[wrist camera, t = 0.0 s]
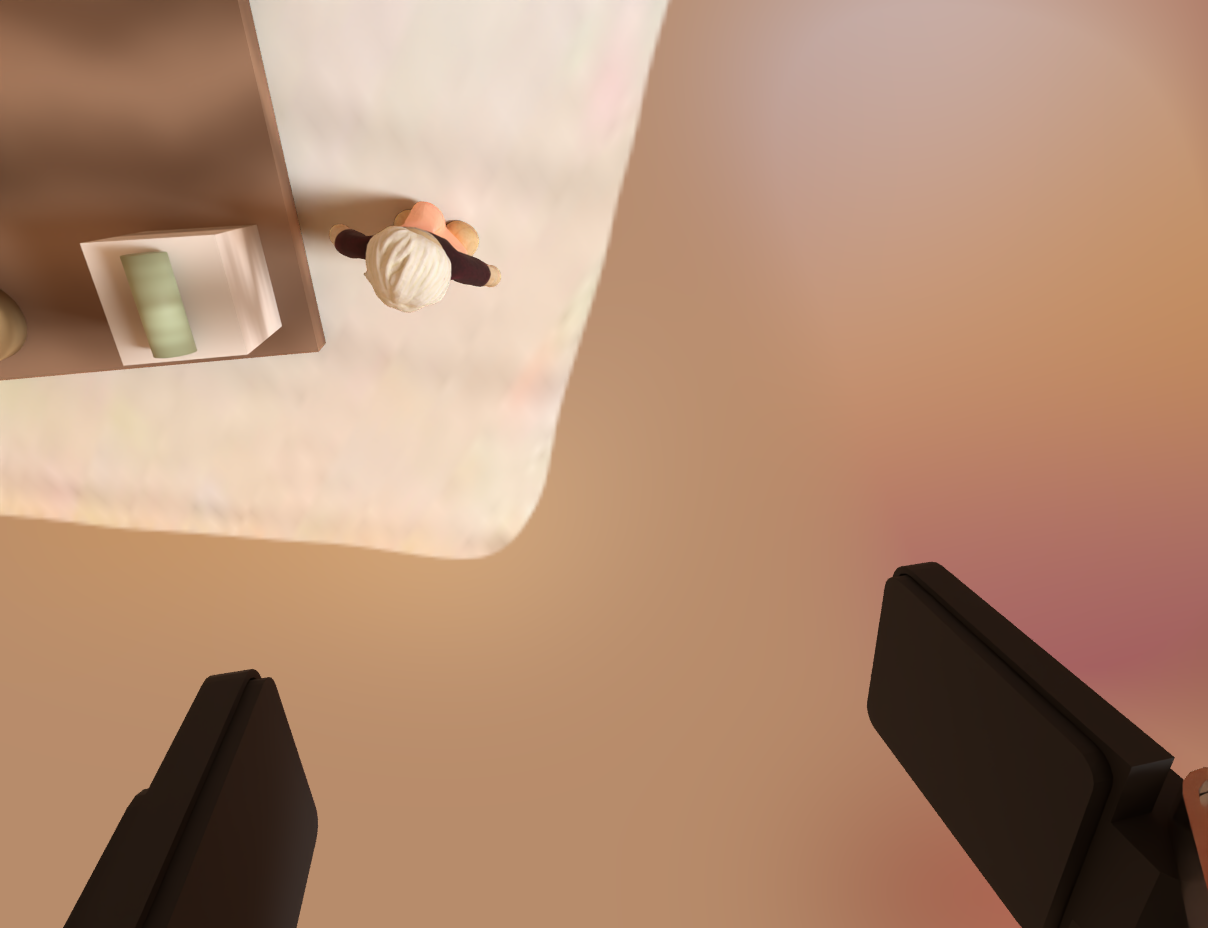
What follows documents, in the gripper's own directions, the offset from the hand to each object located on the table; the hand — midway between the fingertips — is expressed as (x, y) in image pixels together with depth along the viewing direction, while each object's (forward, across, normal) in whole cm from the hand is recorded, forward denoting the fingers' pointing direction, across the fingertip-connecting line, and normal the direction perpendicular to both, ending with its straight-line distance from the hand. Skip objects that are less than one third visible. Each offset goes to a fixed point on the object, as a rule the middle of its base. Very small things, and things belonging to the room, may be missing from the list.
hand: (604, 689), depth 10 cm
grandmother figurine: (+31, +4, -4) cm, 32 cm away
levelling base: (+31, +19, -9) cm, 38 cm away
